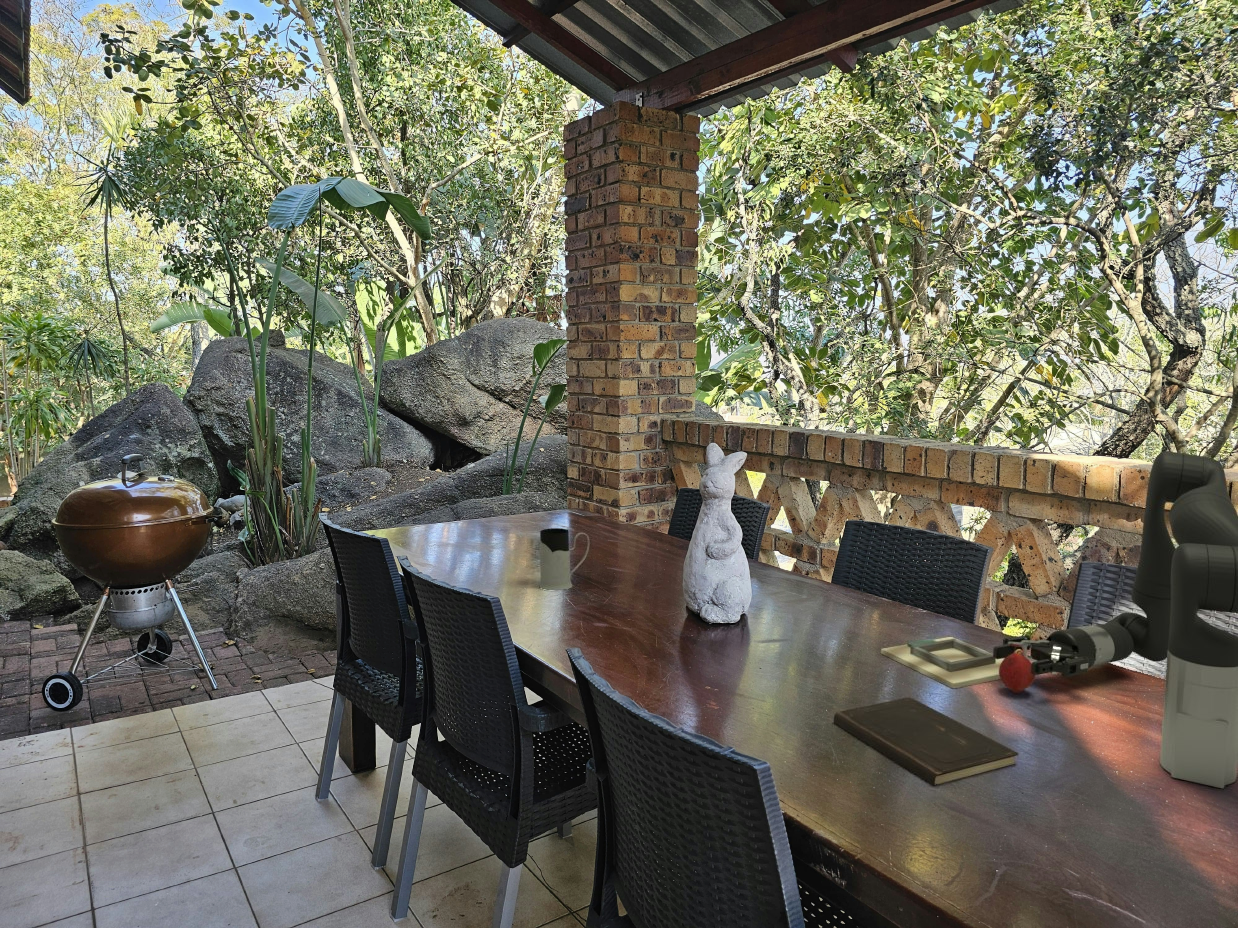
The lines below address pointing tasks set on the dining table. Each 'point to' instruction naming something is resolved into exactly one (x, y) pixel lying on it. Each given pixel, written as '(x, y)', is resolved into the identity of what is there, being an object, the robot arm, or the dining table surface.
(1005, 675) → the onion
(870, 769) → the dining table surface
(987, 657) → the cradle board
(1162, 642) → the robot arm
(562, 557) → the glass holder
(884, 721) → the hardcover book
